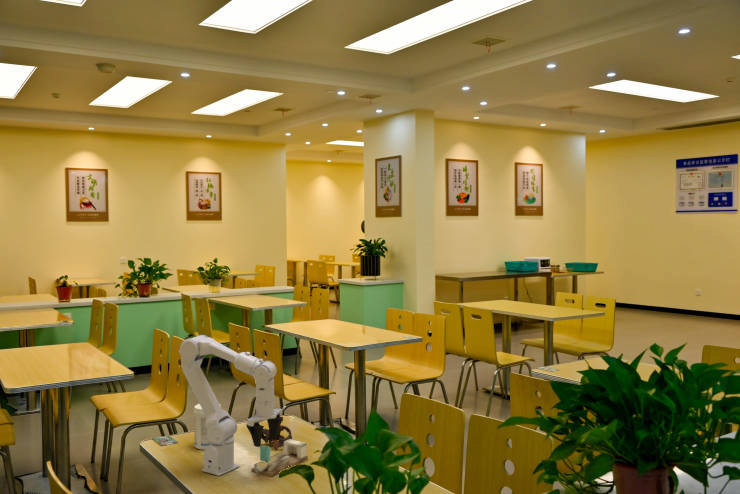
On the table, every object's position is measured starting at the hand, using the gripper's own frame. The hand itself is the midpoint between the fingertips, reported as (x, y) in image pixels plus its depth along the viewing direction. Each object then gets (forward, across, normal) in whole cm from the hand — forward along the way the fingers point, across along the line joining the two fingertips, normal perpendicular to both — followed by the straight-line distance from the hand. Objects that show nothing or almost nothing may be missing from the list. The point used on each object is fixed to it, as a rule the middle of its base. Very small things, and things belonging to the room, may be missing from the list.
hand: (265, 442), depth 203 cm
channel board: (+10, +8, 0) cm, 12 cm away
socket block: (+9, +15, 0) cm, 18 cm away
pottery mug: (+10, +22, +14) cm, 28 cm away
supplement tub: (+10, +8, +34) cm, 36 cm away
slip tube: (+8, +2, 0) cm, 9 cm away
